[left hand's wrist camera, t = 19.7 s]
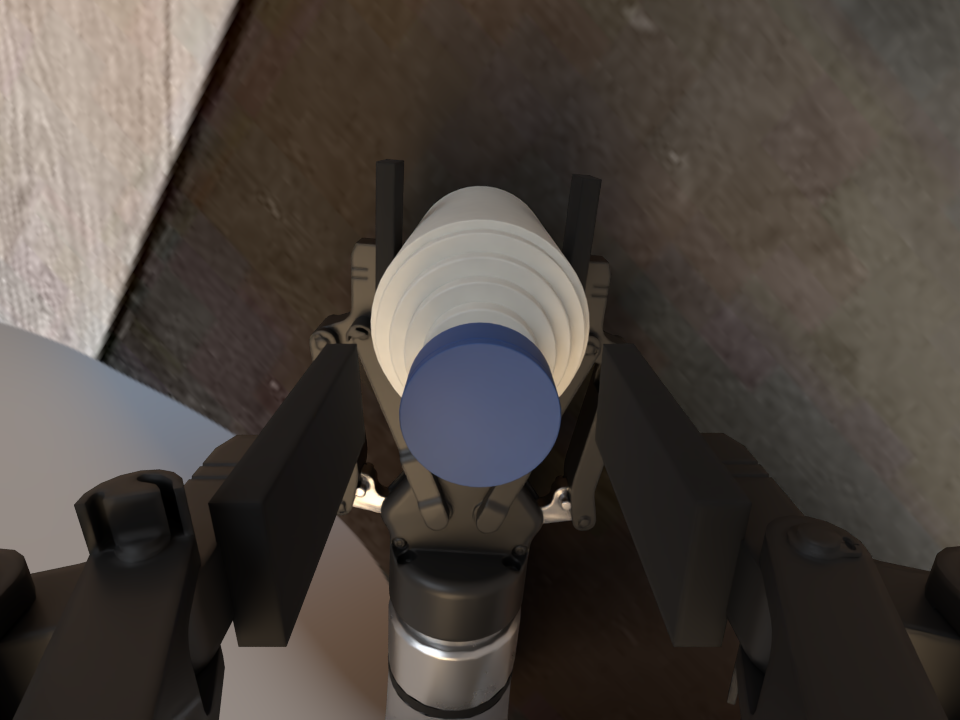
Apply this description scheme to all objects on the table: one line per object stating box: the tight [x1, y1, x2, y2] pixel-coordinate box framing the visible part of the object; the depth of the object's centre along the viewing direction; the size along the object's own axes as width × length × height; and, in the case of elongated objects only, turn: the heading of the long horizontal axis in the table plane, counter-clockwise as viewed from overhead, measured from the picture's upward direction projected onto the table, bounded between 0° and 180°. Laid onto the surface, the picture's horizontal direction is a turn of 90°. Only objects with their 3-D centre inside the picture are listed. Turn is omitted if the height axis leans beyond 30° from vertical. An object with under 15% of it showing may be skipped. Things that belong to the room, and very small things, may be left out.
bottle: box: [371, 186, 590, 397], centre depth 22 cm, size 7×7×19 cm
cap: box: [399, 322, 561, 487], centre depth 14 cm, size 4×4×2 cm
